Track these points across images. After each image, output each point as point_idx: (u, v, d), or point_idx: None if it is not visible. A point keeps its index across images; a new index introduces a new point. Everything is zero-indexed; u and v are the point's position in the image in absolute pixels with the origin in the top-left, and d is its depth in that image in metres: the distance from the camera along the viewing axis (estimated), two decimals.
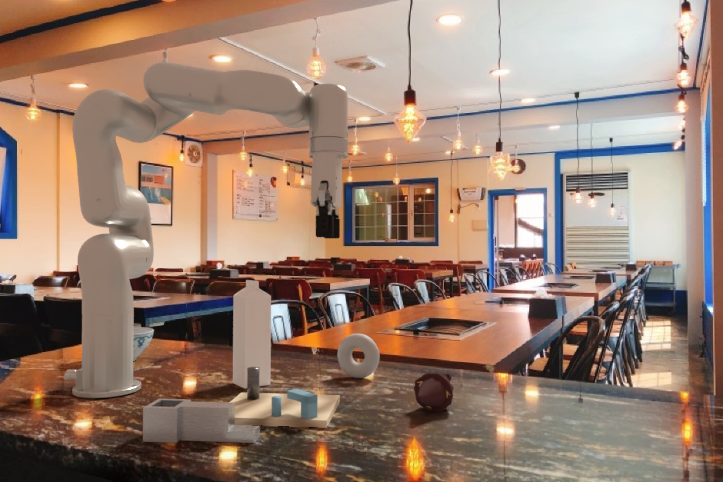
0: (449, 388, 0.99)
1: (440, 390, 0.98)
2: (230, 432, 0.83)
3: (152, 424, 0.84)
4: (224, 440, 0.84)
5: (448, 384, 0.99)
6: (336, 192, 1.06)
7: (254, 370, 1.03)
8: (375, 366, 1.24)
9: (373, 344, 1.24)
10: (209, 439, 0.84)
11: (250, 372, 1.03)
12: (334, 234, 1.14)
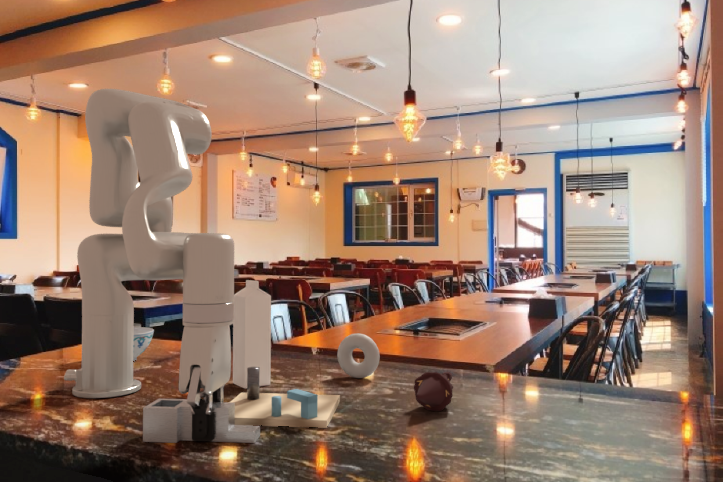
0: (448, 387, 1.00)
1: (439, 389, 0.99)
2: (230, 432, 0.83)
3: (152, 424, 0.84)
4: (224, 440, 0.84)
5: (447, 383, 1.00)
6: (212, 378, 0.81)
7: (254, 370, 1.03)
8: (375, 366, 1.24)
9: (373, 344, 1.24)
10: None
11: (250, 372, 1.03)
12: None
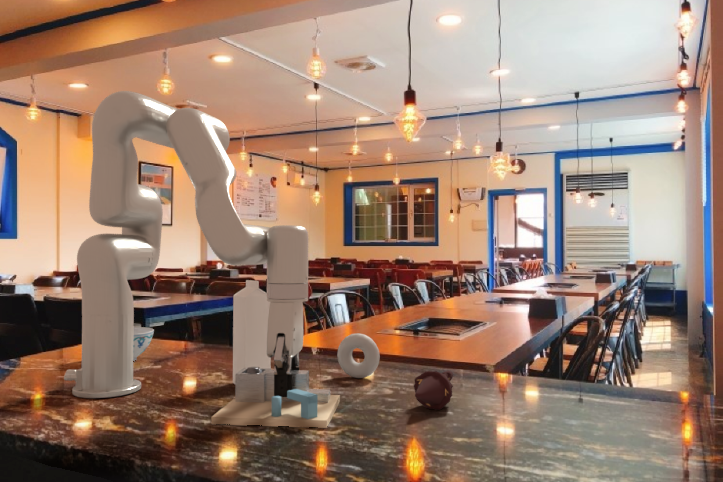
0: (448, 386, 1.00)
1: (438, 388, 0.99)
2: None
3: (243, 387, 1.01)
4: None
5: (447, 382, 1.01)
6: (294, 344, 0.99)
7: (254, 370, 1.03)
8: (375, 366, 1.24)
9: (373, 344, 1.24)
10: (290, 400, 1.02)
11: (250, 372, 1.03)
12: None
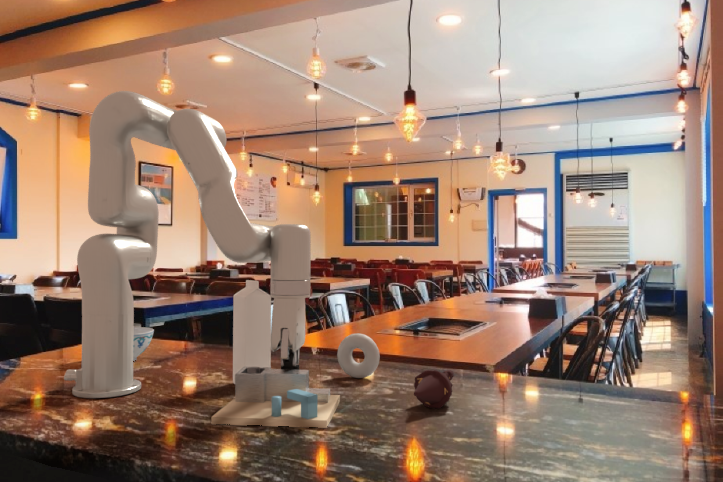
0: (447, 385, 1.01)
1: (438, 387, 1.00)
2: None
3: (243, 387, 1.01)
4: None
5: (446, 381, 1.01)
6: (297, 338, 1.03)
7: (254, 370, 1.03)
8: (375, 366, 1.24)
9: (373, 344, 1.24)
10: (290, 399, 1.02)
11: (250, 372, 1.03)
12: None
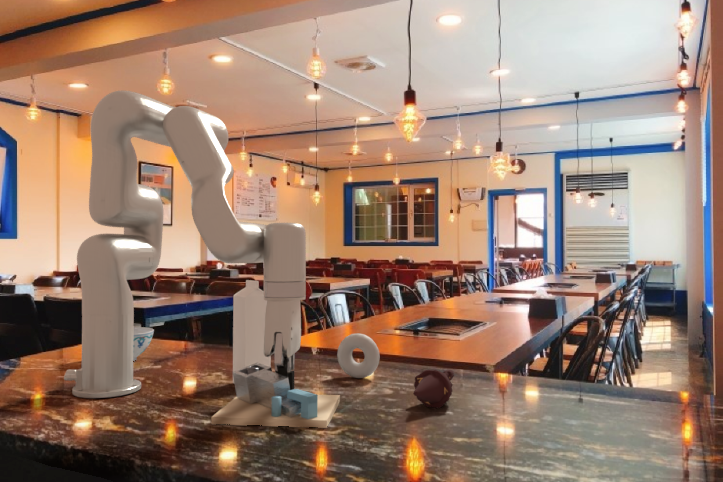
0: (447, 385, 1.01)
1: (437, 386, 1.01)
2: None
3: (238, 386, 1.02)
4: None
5: (446, 381, 1.02)
6: (291, 343, 0.97)
7: (254, 370, 1.03)
8: (375, 366, 1.24)
9: (373, 344, 1.24)
10: (269, 406, 0.97)
11: (250, 372, 1.03)
12: None
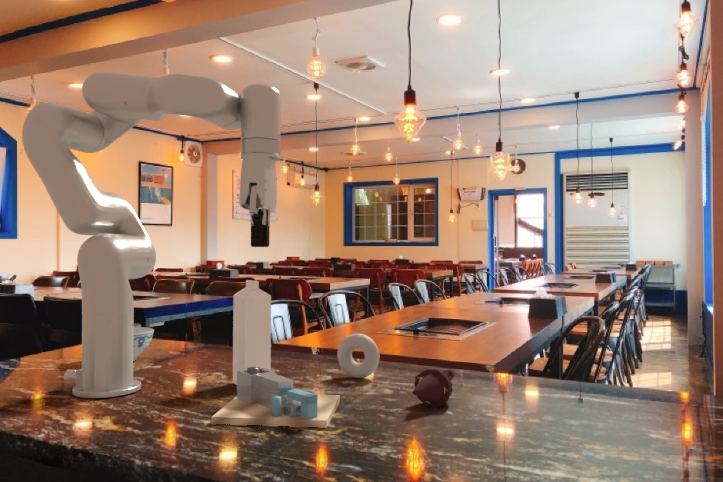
0: (447, 384, 1.02)
1: (437, 386, 1.01)
2: None
3: (240, 385, 1.03)
4: None
5: (446, 380, 1.02)
6: (265, 194, 1.04)
7: (254, 370, 1.03)
8: (375, 366, 1.24)
9: (373, 344, 1.24)
10: (269, 407, 0.97)
11: (250, 372, 1.03)
12: None
